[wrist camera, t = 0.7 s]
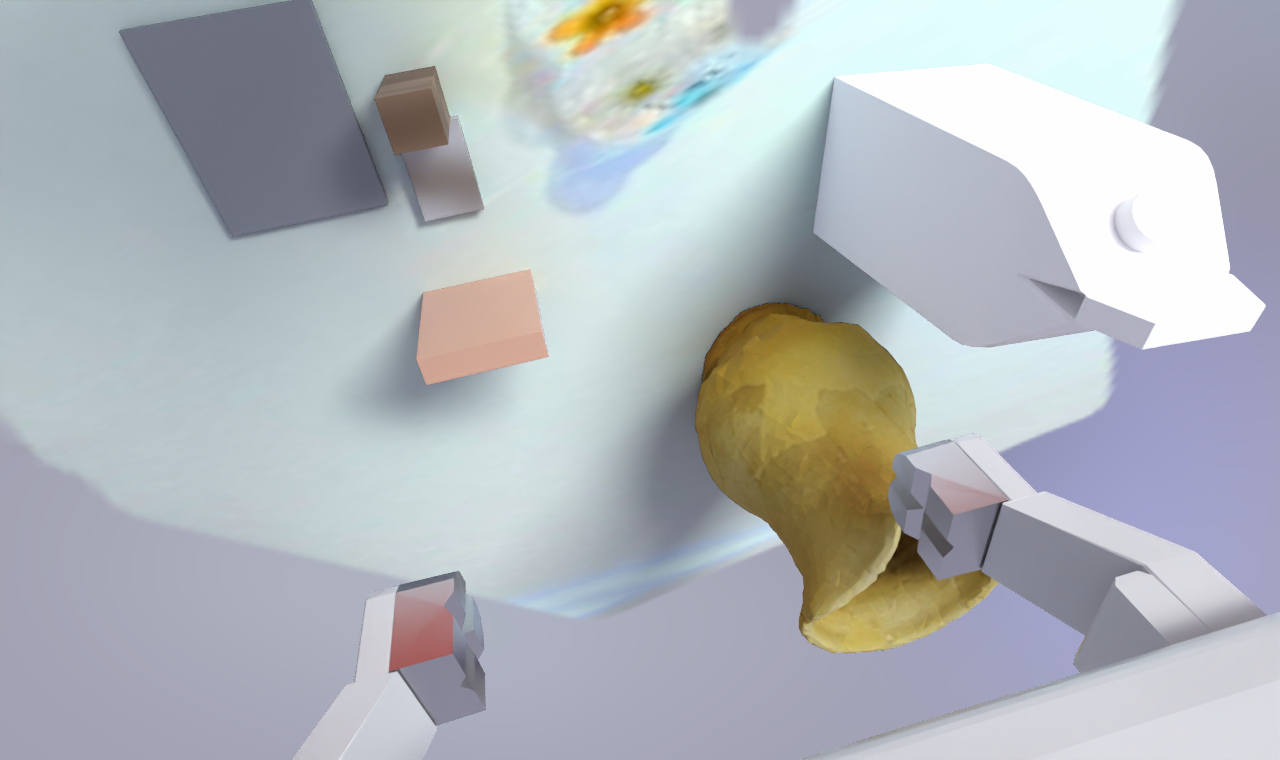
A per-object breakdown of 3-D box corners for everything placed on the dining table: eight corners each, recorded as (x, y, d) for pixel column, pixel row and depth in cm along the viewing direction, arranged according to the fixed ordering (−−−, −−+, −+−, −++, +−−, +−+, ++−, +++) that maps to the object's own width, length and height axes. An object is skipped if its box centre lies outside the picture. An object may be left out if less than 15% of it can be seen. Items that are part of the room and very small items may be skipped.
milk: (813, 232, 52) (1042, 445, 31) (834, 76, 45) (1145, 220, 25) (948, 215, 54) (1247, 406, 33) (988, 63, 47) (1396, 186, 27)
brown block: (376, 76, 39) (364, 100, 34) (443, 64, 39) (440, 86, 35) (425, 216, 45) (421, 254, 40) (483, 205, 45) (486, 240, 40)
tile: (423, 292, 48) (416, 360, 41) (530, 269, 49) (542, 331, 41) (432, 316, 49) (427, 386, 42) (536, 293, 50) (549, 358, 43)
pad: (122, 29, 35) (118, 31, 35) (310, -3, 36) (308, -2, 36) (234, 233, 42) (232, 236, 42) (388, 202, 43) (387, 205, 43)
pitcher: (891, 285, 56) (1099, 507, 37) (811, 442, 67) (940, 677, 48) (706, 262, 52) (834, 503, 32) (652, 435, 62) (724, 692, 43)
